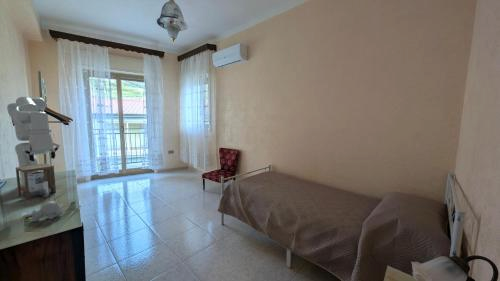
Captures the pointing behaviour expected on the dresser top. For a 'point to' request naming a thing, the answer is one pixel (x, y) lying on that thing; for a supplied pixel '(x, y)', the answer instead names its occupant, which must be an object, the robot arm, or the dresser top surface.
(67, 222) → the dresser top surface
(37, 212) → the round bodied animal figurine
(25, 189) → the pit trap
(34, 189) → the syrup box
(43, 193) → the gray frame with handle
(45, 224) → the dresser top surface
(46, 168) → the wooden stool
